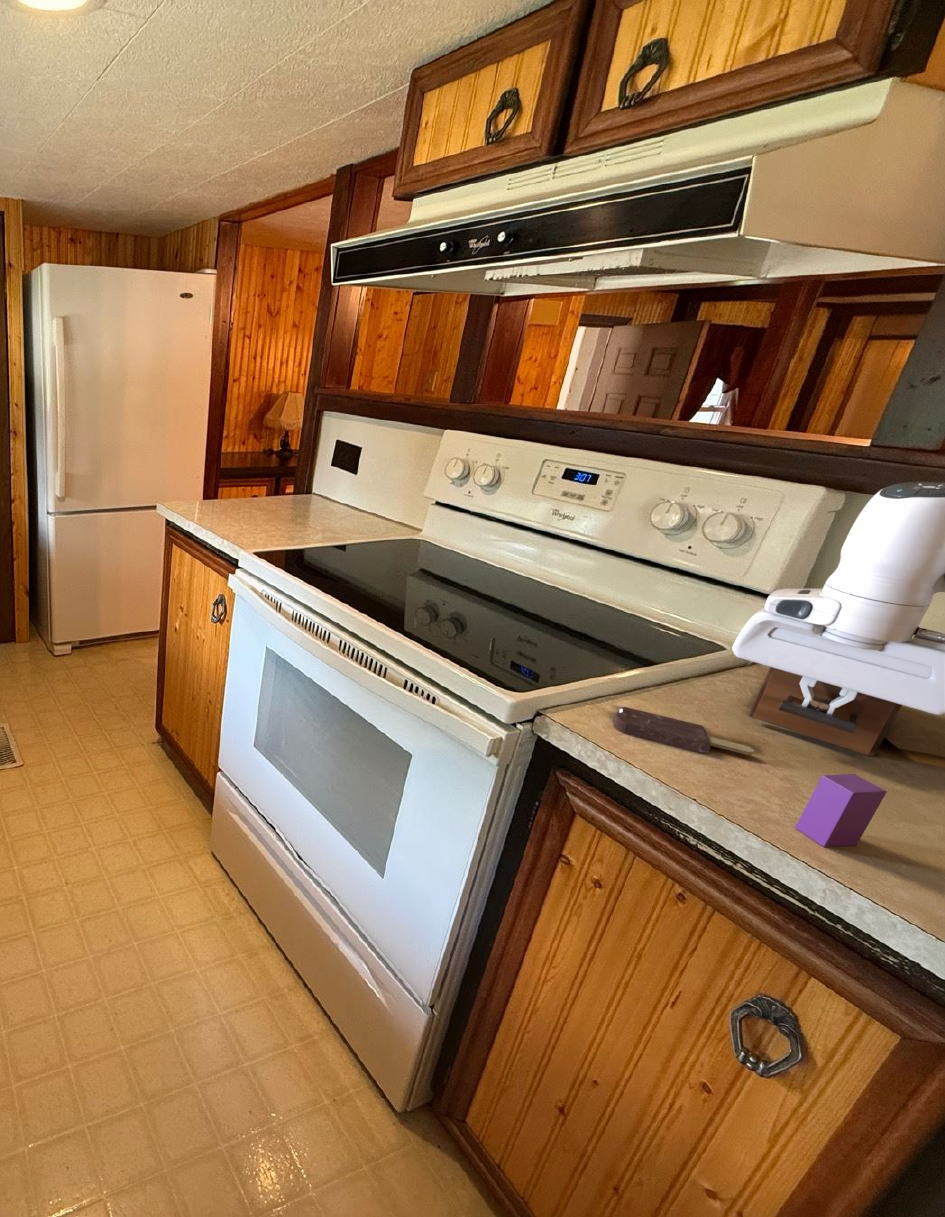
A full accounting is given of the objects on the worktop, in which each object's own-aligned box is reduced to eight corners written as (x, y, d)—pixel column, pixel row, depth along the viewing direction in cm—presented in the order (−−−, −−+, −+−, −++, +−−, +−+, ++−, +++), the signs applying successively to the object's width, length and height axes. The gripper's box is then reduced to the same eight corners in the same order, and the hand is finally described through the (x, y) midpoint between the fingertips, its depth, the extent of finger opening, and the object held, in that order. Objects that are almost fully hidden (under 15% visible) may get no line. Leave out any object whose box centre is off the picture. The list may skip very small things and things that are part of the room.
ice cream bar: (746, 747, 86) (610, 713, 93) (750, 737, 86) (614, 703, 93) (755, 767, 82) (613, 730, 89) (761, 756, 82) (616, 720, 89)
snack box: (826, 826, 72) (854, 773, 69) (856, 845, 69) (887, 791, 67) (794, 827, 72) (821, 774, 69) (824, 847, 69) (853, 792, 66)
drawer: (863, 768, 81) (897, 707, 78) (745, 727, 89) (771, 670, 86) (879, 720, 93) (909, 665, 89) (772, 688, 101) (796, 636, 97)
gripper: (997, 638, 74) (936, 741, 80) (762, 586, 89) (723, 675, 94) (997, 652, 71) (933, 759, 76) (752, 595, 85) (712, 687, 91)
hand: (815, 712), depth 85 cm, fingers closed
